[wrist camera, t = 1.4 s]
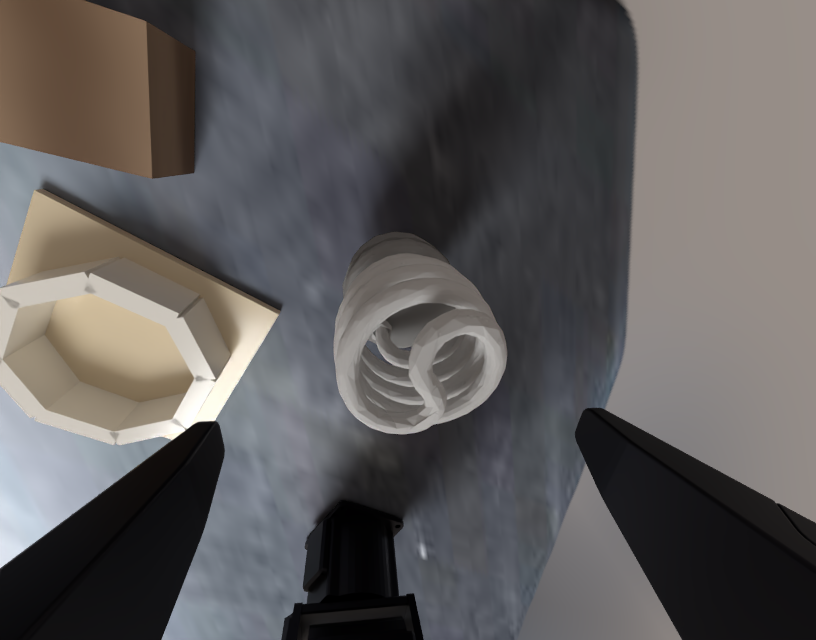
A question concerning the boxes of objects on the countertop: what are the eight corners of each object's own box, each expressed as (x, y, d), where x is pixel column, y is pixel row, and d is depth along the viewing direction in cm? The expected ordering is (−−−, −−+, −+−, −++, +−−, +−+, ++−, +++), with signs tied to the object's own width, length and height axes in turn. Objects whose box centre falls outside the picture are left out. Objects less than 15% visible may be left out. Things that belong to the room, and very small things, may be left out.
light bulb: (411, 321, 22) (462, 483, 11) (328, 287, 20) (295, 440, 9) (455, 243, 20) (568, 348, 9) (368, 197, 18) (384, 262, 8)
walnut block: (196, 52, 15) (146, 21, 11) (195, 172, 17) (152, 178, 13) (59, 7, 14) (-45, -43, 10) (75, 142, 16) (-7, 140, 12)
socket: (280, 311, 20) (269, 335, 18) (200, 442, 24) (181, 479, 21) (43, 189, 16) (-20, 196, 13) (-12, 370, 20) (-70, 405, 17)
